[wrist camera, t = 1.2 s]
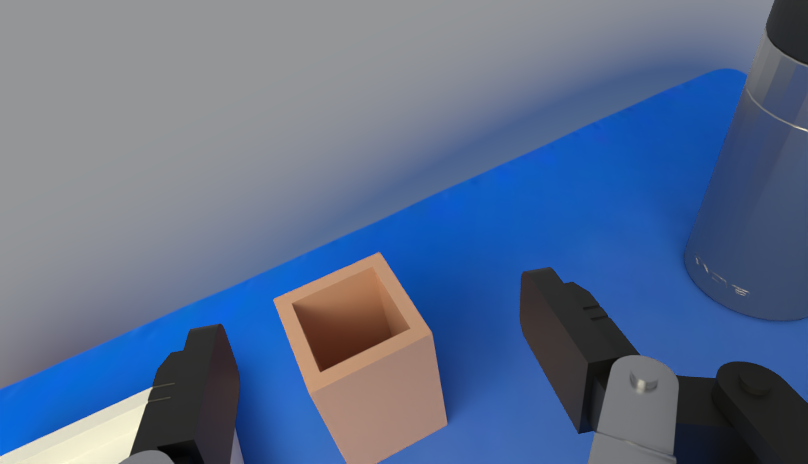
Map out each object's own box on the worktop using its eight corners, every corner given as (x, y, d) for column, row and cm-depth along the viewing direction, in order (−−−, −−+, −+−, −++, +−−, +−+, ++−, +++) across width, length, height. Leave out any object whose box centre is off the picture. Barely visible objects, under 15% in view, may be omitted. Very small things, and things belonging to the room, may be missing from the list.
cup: (403, 348, 36) (379, 251, 29) (447, 424, 32) (432, 333, 25) (318, 389, 35) (273, 299, 28) (353, 476, 31) (309, 394, 24)
